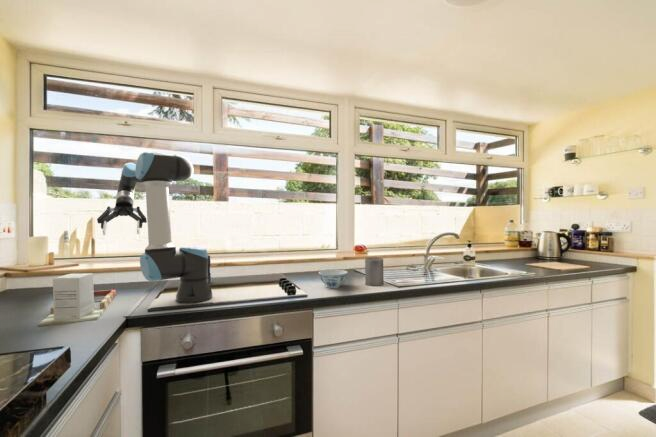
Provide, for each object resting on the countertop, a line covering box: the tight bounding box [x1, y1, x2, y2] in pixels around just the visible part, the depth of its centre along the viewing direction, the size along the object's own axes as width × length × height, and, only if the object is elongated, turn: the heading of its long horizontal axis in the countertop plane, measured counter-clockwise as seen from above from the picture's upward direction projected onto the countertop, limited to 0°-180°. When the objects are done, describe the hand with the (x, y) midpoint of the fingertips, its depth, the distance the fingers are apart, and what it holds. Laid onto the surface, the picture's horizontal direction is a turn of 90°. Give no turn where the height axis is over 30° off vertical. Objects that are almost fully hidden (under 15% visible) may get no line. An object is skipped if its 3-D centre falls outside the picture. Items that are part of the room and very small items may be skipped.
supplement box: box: [52, 272, 95, 319], centre depth 121 cm, size 9×9×15 cm
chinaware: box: [318, 268, 349, 289], centre depth 169 cm, size 15×15×8 cm
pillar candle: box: [364, 256, 385, 287], centre depth 174 cm, size 10×10×15 cm
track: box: [38, 288, 117, 327], centre depth 134 cm, size 40×17×3 cm, turn 25°
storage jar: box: [207, 254, 212, 285], centre depth 178 cm, size 10×10×15 cm
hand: (121, 232), depth 153 cm, fingers open, 13 cm apart
